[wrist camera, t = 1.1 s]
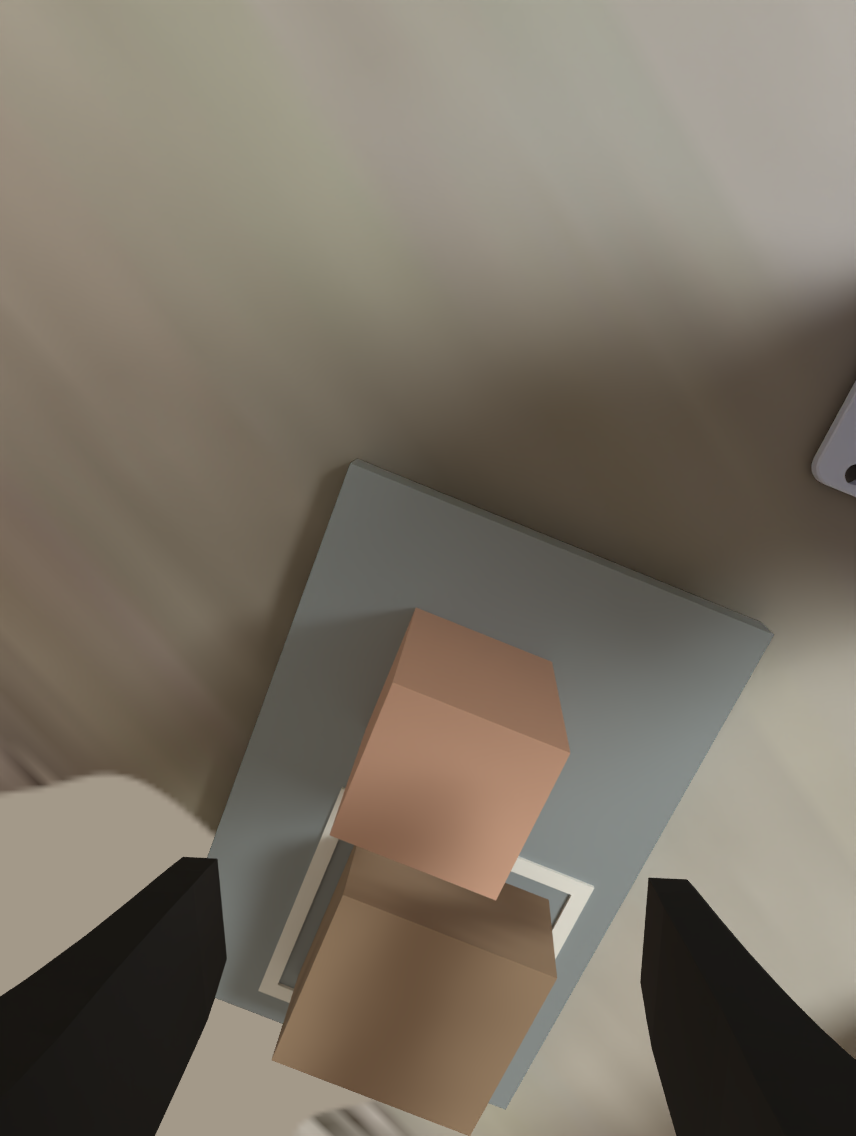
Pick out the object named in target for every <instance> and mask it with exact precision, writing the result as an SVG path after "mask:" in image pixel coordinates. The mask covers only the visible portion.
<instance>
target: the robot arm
mask: <svg viewBox="0 0 856 1136" xmlns="http://www.w3.org/2000/svg"><path fill="white" fill-rule="evenodd" d="M854 464H856V381H855V383H854V385H853V386H852V388H851V390H850V392H849V394H848V396H847V398H846V399H845V401H844V403H843V405H842V407H841V409H840V410H839V412H838V414H837V416H836V418H835V420H834V422H833V423H832V425H831V427H830V429H829V431H828V433H827V434H826V436H825V438H824V440H823V442H822V444H821V446H820V447H819V449H818V451H817V453H816V455H815V457H814V459H813V462H812V465H811V467H812V474H813V475H814V477H815V479H816V480H818V481H819V482H821V483H822V484H825V485H827V486H830V487H832V488H834V489H837V490H839V491H842V492H844V493H847V494H849V495H852V496H854V497H856V479H855V480H854V481H852V482H849V483H848V482H847V481H846V479H845V472H846V470H847V469H848V468H849V467H850V466H852V465H854ZM226 961H227V953H226V943H225V932H224V921H223V911H222V900H221V890H220V879H219V869H218V859H216V858H193V857H182V858H181V859H180V860H179V861H177V862H176V863H175V864H173V865H172V866H171V867H170V868H168V869H167V870H166V871H165V872H163V873H162V874H161V875H160V876H158V877H157V878H156V879H155V880H154V881H152V882H151V883H150V884H149V885H148V886H147V887H145V888H144V889H143V890H142V891H140V892H139V893H138V894H137V895H135V896H134V897H133V898H132V899H131V900H129V901H128V902H127V903H126V904H124V905H123V906H122V907H121V908H120V909H118V910H117V911H116V912H114V913H113V914H112V915H111V916H109V917H108V918H107V919H106V920H104V921H103V922H102V923H101V924H100V925H98V926H97V927H96V928H94V929H93V930H92V931H91V932H89V933H88V934H87V935H86V936H84V937H83V938H82V939H80V940H79V941H78V942H77V943H75V944H73V945H72V946H71V947H69V948H68V949H67V950H65V951H64V952H63V953H61V954H60V955H59V956H57V957H56V958H54V959H53V960H52V961H50V962H49V963H48V964H46V965H45V966H44V967H42V968H41V969H40V970H38V971H37V972H35V973H34V974H33V975H31V976H30V977H28V978H27V979H26V980H24V981H23V982H21V983H20V984H18V985H17V986H15V987H14V988H12V989H11V990H9V991H8V992H6V993H5V994H3V995H2V996H0V1136H155V1134H156V1132H157V1130H158V1128H159V1126H160V1123H161V1121H162V1119H163V1117H164V1115H165V1112H166V1110H167V1108H168V1106H169V1104H170V1101H171V1099H172V1097H173V1095H174V1093H175V1091H176V1089H177V1086H178V1084H179V1082H180V1080H181V1078H182V1075H183V1073H184V1071H185V1069H186V1067H187V1064H188V1062H189V1060H190V1058H191V1056H192V1053H193V1051H194V1049H195V1047H196V1045H197V1042H198V1040H199V1038H200V1036H201V1033H202V1031H203V1029H204V1027H205V1024H206V1022H207V1020H208V1017H209V1014H210V1011H211V1007H212V1005H213V1002H214V999H215V996H216V993H217V990H218V986H219V983H220V980H221V977H222V973H223V970H224V967H225V964H226ZM640 982H641V988H642V994H643V1000H644V1006H645V1013H646V1019H647V1024H648V1030H649V1035H650V1041H651V1047H652V1051H653V1054H654V1058H655V1062H656V1065H657V1069H658V1072H659V1076H660V1079H661V1083H662V1087H663V1090H664V1094H665V1097H666V1101H667V1104H668V1108H669V1111H670V1115H671V1118H672V1122H673V1125H674V1129H675V1132H676V1136H856V1060H855V1059H854V1058H853V1057H852V1056H851V1055H849V1054H848V1053H847V1052H846V1051H845V1050H844V1049H843V1048H841V1047H840V1046H839V1045H838V1044H837V1043H836V1042H835V1041H834V1040H833V1039H832V1038H831V1037H830V1036H829V1035H827V1034H826V1033H825V1032H824V1031H823V1030H822V1029H821V1028H820V1027H819V1026H818V1025H817V1024H816V1023H815V1022H814V1021H813V1020H812V1019H811V1018H810V1017H809V1016H808V1015H807V1014H806V1013H805V1012H804V1011H803V1010H802V1009H801V1008H800V1007H799V1006H798V1005H797V1004H796V1003H795V1002H794V1001H793V1000H792V999H791V998H790V997H789V996H788V995H787V994H786V993H785V991H784V990H783V989H782V988H781V987H780V986H779V985H778V984H777V983H776V982H775V981H774V980H773V979H772V977H771V976H770V975H769V974H768V973H767V972H766V971H765V970H764V969H763V968H762V966H761V965H760V964H759V963H758V962H757V961H756V960H755V959H754V958H753V957H752V955H751V954H750V953H749V952H748V951H747V950H746V949H745V947H744V946H743V945H742V944H741V943H740V942H739V941H738V939H737V938H736V937H735V936H734V935H733V933H732V932H731V931H730V930H729V929H728V928H727V926H726V925H725V924H724V923H723V922H722V920H721V919H720V918H719V917H718V916H717V914H716V913H715V912H714V911H713V910H712V908H711V907H710V906H709V905H708V903H707V902H706V901H705V900H704V899H703V897H702V896H701V895H700V894H699V892H698V891H697V890H696V889H695V888H694V886H693V885H692V884H691V883H690V882H689V881H688V880H686V879H664V878H649V880H648V892H647V905H646V918H645V930H644V943H643V956H642V969H641V981H640Z"/></svg>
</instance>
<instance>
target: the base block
mask: <svg viewBox="0 0 856 1136" xmlns="http://www.w3.org/2000/svg"><path fill="white" fill-rule="evenodd" d="M556 980H557V972H556V962H555V953H554V944H553V934H552V925H551V915H550V906H549V900H548V899H546V898H543V897H541V896H538V895H536V894H533V893H530V892H528V891H525V890H523V889H520V888H518V887H515V886H513V885H510V884H508V883H505V884H504V886H503V888H502V890H501V892H500V894H499V896H498V897H497V899H496V900H493V899H491V898H488V897H486V896H483V895H481V894H478V893H475V892H473V891H470V890H468V889H465V888H463V887H460V886H458V885H455V884H453V883H450V882H447V881H445V880H442V879H440V878H437V877H435V876H432V875H430V874H427V873H424V872H422V871H419V870H417V869H414V868H412V867H409V866H407V865H404V864H401V863H399V862H396V861H394V860H391V859H389V858H386V857H384V856H381V855H378V854H376V853H373V852H371V851H368V850H366V849H363V848H361V847H358V846H356V845H354V847H353V849H352V851H351V854H350V856H349V858H348V861H347V863H346V865H345V868H344V870H343V872H342V875H341V877H340V879H339V882H338V884H337V886H336V889H335V891H334V893H333V896H332V898H331V900H330V903H329V905H328V907H327V910H326V912H325V914H324V917H323V919H322V921H321V924H320V926H319V928H318V931H317V933H316V935H315V938H314V940H313V942H312V945H311V947H310V949H309V952H308V954H307V956H306V959H305V961H304V963H303V966H302V968H301V970H300V973H299V975H298V978H297V981H296V984H295V987H294V990H293V994H292V997H291V1000H290V1003H289V1006H288V1010H287V1013H286V1016H285V1019H284V1022H283V1026H282V1029H281V1032H280V1035H279V1038H278V1041H277V1044H276V1048H275V1051H274V1054H273V1057H272V1060H273V1061H275V1062H278V1063H280V1064H283V1065H286V1066H288V1067H291V1068H293V1069H296V1070H299V1071H301V1072H304V1073H307V1074H309V1075H312V1076H314V1077H317V1078H319V1079H322V1080H325V1081H327V1082H330V1083H333V1084H335V1085H338V1086H341V1087H343V1088H346V1089H348V1090H351V1091H353V1092H356V1093H359V1094H361V1095H364V1096H366V1097H369V1098H372V1099H374V1100H377V1101H379V1102H382V1103H385V1104H387V1105H390V1106H392V1107H395V1108H398V1109H400V1110H403V1111H405V1112H408V1113H411V1114H413V1115H416V1116H419V1117H421V1118H424V1119H426V1120H429V1121H432V1122H434V1123H437V1124H439V1125H442V1126H445V1127H447V1128H450V1129H452V1130H455V1131H458V1132H460V1133H463V1134H465V1135H468V1136H470V1135H471V1133H472V1131H473V1129H474V1128H475V1126H476V1124H477V1122H478V1120H479V1119H480V1117H481V1115H482V1113H483V1111H484V1110H485V1108H486V1106H487V1104H488V1102H489V1101H490V1099H491V1097H492V1095H493V1093H494V1092H495V1090H496V1088H497V1086H498V1084H499V1082H500V1081H501V1079H502V1077H503V1075H504V1073H505V1072H506V1070H507V1068H508V1066H509V1064H510V1063H511V1061H512V1059H513V1057H514V1055H515V1054H516V1052H517V1050H518V1048H519V1046H520V1045H521V1043H522V1041H523V1039H524V1037H525V1036H526V1034H527V1032H528V1030H529V1028H530V1027H531V1025H532V1023H533V1021H534V1019H535V1018H536V1016H537V1014H538V1012H539V1010H540V1009H541V1007H542V1005H543V1003H544V1001H545V1000H546V998H547V996H548V994H549V992H550V991H551V989H552V987H553V985H554V983H555V981H556Z"/></svg>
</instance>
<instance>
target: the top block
mask: <svg viewBox="0 0 856 1136" xmlns="http://www.w3.org/2000/svg"><path fill="white" fill-rule="evenodd" d="M569 755H570V748H569V743H568V738H567V733H566V728H565V723H564V719H563V714H562V709H561V704H560V699H559V694H558V689H557V684H556V679H555V674H554V669H553V664H552V662H551V661H548V660H546V659H543V658H541V657H538V656H536V655H533V654H531V653H528V652H526V651H524V650H521V649H519V648H516V647H514V646H511V645H509V644H506V643H504V642H501V641H499V640H496V639H494V638H491V637H489V636H486V635H484V634H481V633H479V632H476V631H474V630H471V629H469V628H466V627H464V626H461V625H459V624H456V623H454V622H451V621H449V620H446V619H444V618H441V617H439V616H436V615H434V614H431V613H429V612H426V611H424V610H421V609H419V608H415V611H414V613H413V616H412V618H411V620H410V623H409V625H408V628H407V630H406V633H405V635H404V637H403V640H402V642H401V645H400V647H399V650H398V652H397V654H396V657H395V659H394V662H393V664H392V667H391V669H390V672H389V674H388V676H387V679H386V681H385V684H384V686H383V689H382V691H381V693H380V696H379V698H378V701H377V703H376V706H375V708H374V710H373V713H372V715H371V718H370V720H369V723H368V725H367V727H366V730H365V733H364V736H363V739H362V741H361V744H360V747H359V750H358V753H357V756H356V759H355V762H354V765H353V768H352V771H351V774H350V776H349V779H348V782H347V785H346V788H345V791H344V794H343V797H342V800H341V803H340V806H339V809H338V811H337V814H336V817H335V820H334V823H333V826H332V829H331V832H330V836H333V837H335V838H338V839H340V840H343V841H345V842H348V843H350V844H353V845H356V846H358V847H361V848H363V849H366V850H368V851H371V852H373V853H376V854H378V855H381V856H384V857H386V858H389V859H391V860H394V861H396V862H399V863H401V864H404V865H407V866H409V867H412V868H414V869H417V870H419V871H422V872H424V873H427V874H430V875H432V876H435V877H437V878H440V879H442V880H445V881H447V882H450V883H453V884H455V885H458V886H460V887H463V888H465V889H468V890H470V891H473V892H475V893H478V894H481V895H483V896H486V897H488V898H491V899H493V900H496V899H497V897H498V896H499V894H500V892H501V890H502V888H503V886H504V884H505V882H506V880H507V878H508V876H509V874H510V872H511V870H512V868H513V866H514V864H515V862H516V860H517V858H518V856H519V854H520V852H521V850H522V848H523V846H524V844H525V842H526V840H527V838H528V836H529V834H530V832H531V830H532V828H533V826H534V824H535V822H536V820H537V818H538V816H539V814H540V812H541V810H542V808H543V806H544V805H545V803H546V801H547V799H548V797H549V795H550V793H551V791H552V789H553V787H554V785H555V783H556V781H557V779H558V777H559V775H560V773H561V771H562V769H563V767H564V765H565V763H566V761H567V759H568V757H569Z"/></svg>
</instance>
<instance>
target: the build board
mask: <svg viewBox="0 0 856 1136" xmlns="http://www.w3.org/2000/svg"><path fill="white" fill-rule="evenodd" d="M415 608H419V609H421V610H424V611H426V612H429V613H431V614H434V615H436V616H439V617H441V618H444V619H446V620H449V621H451V622H454V623H456V624H459V625H461V626H464V627H466V628H469V629H471V630H474V631H476V632H479V633H481V634H484V635H486V636H489V637H491V638H494V639H496V640H499V641H501V642H504V643H506V644H509V645H511V646H514V647H516V648H519V649H521V650H524V651H526V652H528V653H531V654H533V655H536V656H538V657H541V658H543V659H546V660H548V661H551V662H552V664H553V669H554V674H555V679H556V684H557V689H558V694H559V699H560V704H561V709H562V714H563V719H564V723H565V728H566V733H567V738H568V743H569V748H570V755H569V757H568V759H567V761H566V763H565V765H564V767H563V769H562V771H561V773H560V775H559V777H558V779H557V781H556V783H555V785H554V787H553V789H552V791H551V793H550V795H549V797H548V799H547V801H546V803H545V805H544V806H543V808H542V810H541V812H540V814H539V816H538V818H537V820H536V822H535V824H534V826H533V828H532V830H531V832H530V834H529V836H528V838H527V840H526V842H525V844H524V846H523V848H522V850H521V852H520V854H519V856H518V858H517V860H516V862H515V864H514V866H513V868H512V870H511V872H510V874H509V876H508V878H507V880H506V882H505V883H508V884H510V885H513V886H515V887H518V888H520V889H523V890H525V891H528V892H530V893H533V894H536V895H538V896H541V897H543V898H546V899H548V900H549V906H550V915H551V925H552V934H553V944H554V953H555V962H556V972H557V980H556V981H555V983H554V985H553V987H552V989H551V991H550V992H549V994H548V996H547V998H546V1000H545V1001H544V1003H543V1005H542V1007H541V1009H540V1010H539V1012H538V1014H537V1016H536V1018H535V1019H534V1021H533V1023H532V1025H531V1027H530V1028H529V1030H528V1032H527V1034H526V1036H525V1037H524V1039H523V1041H522V1043H521V1045H520V1046H519V1048H518V1050H517V1052H516V1054H515V1055H514V1057H513V1059H512V1061H511V1063H510V1064H509V1066H508V1068H507V1070H506V1072H505V1073H504V1075H503V1077H502V1079H501V1081H500V1082H499V1084H498V1086H497V1088H496V1090H495V1092H494V1093H493V1095H492V1097H491V1099H490V1101H489V1102H488V1103H490V1104H492V1105H495V1106H498V1107H500V1108H503V1109H505V1110H506V1108H507V1106H508V1104H509V1103H510V1101H511V1099H512V1097H513V1096H514V1094H515V1092H516V1090H517V1088H518V1087H519V1085H520V1083H521V1081H522V1080H523V1078H524V1076H525V1074H526V1073H527V1071H528V1069H529V1067H530V1065H531V1064H532V1062H533V1060H534V1058H535V1057H536V1055H537V1053H538V1051H539V1050H540V1048H541V1046H542V1044H543V1042H544V1041H545V1039H546V1037H547V1035H548V1034H549V1032H550V1030H551V1028H552V1027H553V1025H554V1023H555V1021H556V1019H557V1018H558V1016H559V1014H560V1012H561V1011H562V1009H563V1007H564V1005H565V1004H566V1002H567V1000H568V998H569V996H570V995H571V993H572V991H573V989H574V988H575V986H576V984H577V982H578V981H579V979H580V977H581V975H582V973H583V972H584V970H585V968H586V966H587V965H588V963H589V961H590V959H591V958H592V956H593V954H594V952H595V950H596V949H597V947H598V945H599V943H600V942H601V940H602V938H603V936H604V935H605V933H606V931H607V929H608V927H609V926H610V924H611V922H612V920H613V919H614V917H615V915H616V913H617V912H618V910H619V908H620V906H621V904H622V903H623V901H624V899H625V897H626V896H627V894H628V892H629V890H630V889H631V887H632V885H633V883H634V881H635V880H636V878H637V876H638V874H639V873H640V871H641V869H642V867H643V866H644V864H645V862H646V860H647V859H648V857H649V855H650V853H651V851H652V850H653V848H654V846H655V844H656V843H657V841H658V839H659V837H660V836H661V834H662V832H663V830H664V828H665V827H666V825H667V823H668V821H669V820H670V818H671V816H672V814H673V813H674V811H675V809H676V807H677V805H678V804H679V802H680V800H681V798H682V797H683V795H684V793H685V791H686V790H687V788H688V786H689V784H690V782H691V781H692V779H693V777H694V775H695V774H696V772H697V770H698V768H699V767H700V765H701V763H702V761H703V759H704V758H705V756H706V754H707V752H708V751H709V749H710V747H711V745H712V744H713V742H714V740H715V738H716V736H717V735H718V733H719V731H720V729H721V728H722V726H723V724H724V722H725V721H726V719H727V717H728V715H729V713H730V712H731V710H732V708H733V706H734V705H735V703H736V701H737V699H738V698H739V696H740V694H741V692H742V690H743V689H744V687H745V685H746V683H747V682H748V680H749V678H750V676H751V675H752V673H753V671H754V669H755V667H756V666H757V664H758V662H759V660H760V659H761V657H762V655H763V653H764V652H765V650H766V648H767V646H768V644H769V643H770V641H771V639H772V637H773V636H774V634H773V633H772V632H771V631H770V630H769V629H768V628H767V627H766V626H765V625H764V624H763V623H761V622H760V621H757V620H755V619H752V618H750V617H747V616H745V615H742V614H740V613H737V612H735V611H732V610H730V609H727V608H725V607H723V606H720V605H718V604H715V603H713V602H710V601H708V600H705V599H703V598H700V597H698V596H695V595H693V594H690V593H688V592H685V591H683V590H681V589H678V588H676V587H673V586H671V585H668V584H666V583H663V582H661V581H658V580H656V579H653V578H651V577H648V576H646V575H643V574H641V573H639V572H636V571H634V570H631V569H629V568H626V567H624V566H621V565H619V564H616V563H614V562H611V561H609V560H606V559H604V558H601V557H599V556H597V555H594V554H592V553H589V552H587V551H584V550H582V549H579V548H577V547H574V546H572V545H569V544H567V543H564V542H562V541H559V540H557V539H555V538H552V537H550V536H547V535H545V534H542V533H540V532H537V531H535V530H532V529H530V528H527V527H525V526H522V525H520V524H517V523H515V522H513V521H510V520H508V519H505V518H503V517H500V516H498V515H495V514H493V513H490V512H488V511H485V510H483V509H480V508H478V507H475V506H473V505H471V504H468V503H466V502H463V501H461V500H458V499H456V498H453V497H451V496H448V495H446V494H443V493H441V492H438V491H436V490H434V489H431V488H429V487H426V486H424V485H421V484H419V483H416V482H414V481H411V480H409V479H406V478H404V477H401V476H399V475H396V474H394V473H392V472H389V471H387V470H384V469H382V468H379V467H377V466H374V465H372V464H369V463H367V462H364V461H362V460H359V459H355V460H354V461H353V462H351V463H350V465H349V468H348V471H347V474H346V476H345V479H344V482H343V485H342V487H341V490H340V493H339V496H338V499H337V501H336V504H335V507H334V510H333V512H332V515H331V518H330V521H329V523H328V526H327V529H326V532H325V534H324V537H323V540H322V543H321V545H320V548H319V551H318V554H317V556H316V559H315V562H314V565H313V567H312V570H311V573H310V576H309V578H308V581H307V584H306V587H305V589H304V592H303V595H302V598H301V600H300V603H299V606H298V609H297V611H296V614H295V617H294V620H293V622H292V625H291V628H290V631H289V633H288V636H287V639H286V642H285V645H284V647H283V650H282V653H281V656H280V658H279V661H278V664H277V667H276V669H275V672H274V675H273V678H272V680H271V683H270V686H269V689H268V691H267V694H266V697H265V700H264V702H263V705H262V708H261V711H260V713H259V716H258V719H257V722H256V724H255V727H254V730H253V733H252V735H251V738H250V741H249V744H248V746H247V749H246V752H245V755H244V757H243V760H242V763H241V766H240V768H239V771H238V774H237V777H236V780H235V782H234V785H233V788H232V791H231V793H230V796H229V799H228V802H227V804H226V807H225V810H224V813H223V815H222V818H221V821H220V824H219V826H218V829H217V832H216V835H215V837H214V840H213V843H212V846H211V848H210V851H209V854H208V857H207V858H216V859H218V869H219V879H220V890H221V900H222V911H223V921H224V932H225V943H226V953H227V961H226V964H225V967H224V970H223V973H222V977H221V980H220V983H219V986H218V990H217V993H216V996H215V998H217V999H220V1000H222V1001H225V1002H227V1003H230V1004H233V1005H235V1006H238V1007H240V1008H243V1009H246V1010H248V1011H251V1012H253V1013H256V1014H259V1015H261V1016H264V1017H266V1018H269V1019H272V1020H274V1021H277V1022H279V1023H282V1024H283V1022H284V1019H285V1016H286V1013H287V1010H288V1006H289V1003H290V1000H291V997H292V994H293V990H294V987H295V984H296V981H297V978H298V975H299V973H300V970H301V968H302V966H303V963H304V961H305V959H306V956H307V954H308V952H309V949H310V947H311V945H312V942H313V940H314V938H315V935H316V933H317V931H318V928H319V926H320V924H321V921H322V919H323V917H324V914H325V912H326V910H327V907H328V905H329V903H330V900H331V898H332V896H333V893H334V891H335V889H336V886H337V884H338V882H339V879H340V877H341V875H342V872H343V870H344V868H345V865H346V863H347V861H348V858H349V856H350V854H351V851H352V849H353V847H354V845H353V844H350V843H348V842H345V841H343V840H340V839H338V838H335V837H333V836H330V832H331V829H332V826H333V823H334V820H335V817H336V814H337V811H338V809H339V806H340V803H341V800H342V797H343V794H344V791H345V788H346V785H347V782H348V779H349V776H350V774H351V771H352V768H353V765H354V762H355V759H356V756H357V753H358V750H359V747H360V744H361V741H362V739H363V736H364V733H365V730H366V727H367V725H368V723H369V720H370V718H371V715H372V713H373V710H374V708H375V706H376V703H377V701H378V698H379V696H380V693H381V691H382V689H383V686H384V684H385V681H386V679H387V676H388V674H389V672H390V669H391V667H392V664H393V662H394V659H395V657H396V654H397V652H398V650H399V647H400V645H401V642H402V640H403V637H404V635H405V633H406V630H407V628H408V625H409V623H410V620H411V618H412V616H413V613H414V611H415Z"/></svg>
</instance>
